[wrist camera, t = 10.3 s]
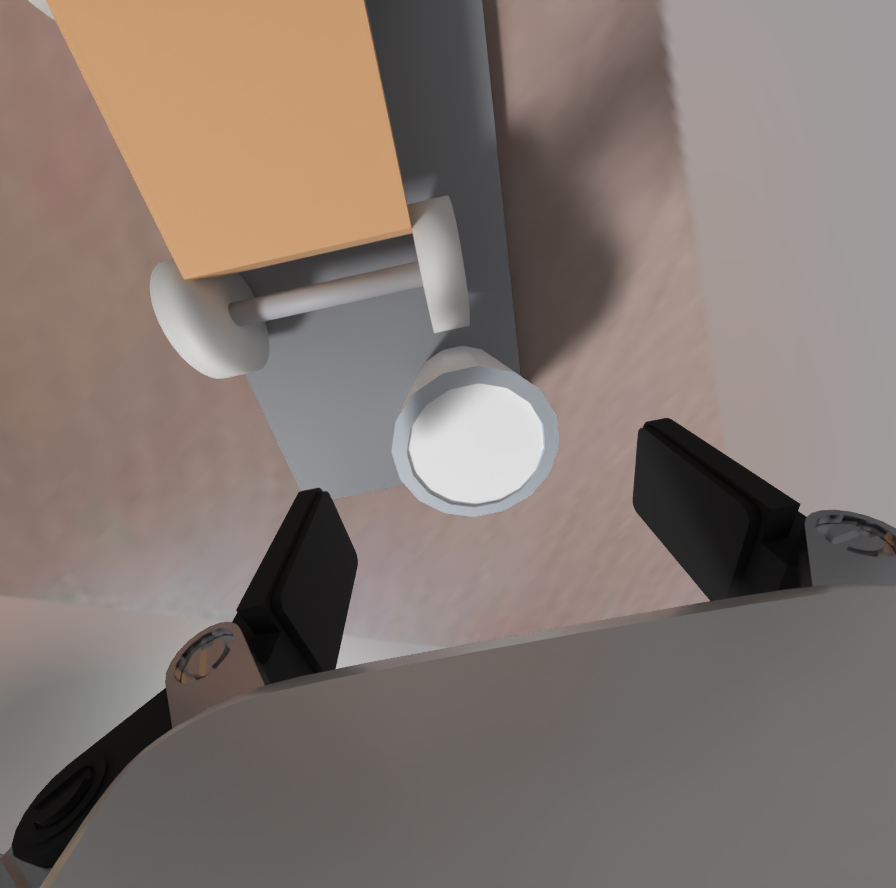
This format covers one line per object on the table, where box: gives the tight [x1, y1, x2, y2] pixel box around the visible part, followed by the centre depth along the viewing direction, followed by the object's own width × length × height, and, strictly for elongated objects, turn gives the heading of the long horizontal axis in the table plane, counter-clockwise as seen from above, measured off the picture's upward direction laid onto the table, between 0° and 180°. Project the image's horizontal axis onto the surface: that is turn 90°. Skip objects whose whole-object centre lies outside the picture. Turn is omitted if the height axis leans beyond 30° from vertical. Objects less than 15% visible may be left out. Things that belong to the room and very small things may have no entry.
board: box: [239, 0, 521, 499], centre depth 17 cm, size 28×15×1 cm, turn 11°
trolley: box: [28, 0, 470, 379], centre depth 10 cm, size 17×12×11 cm
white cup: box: [391, 346, 559, 517], centre depth 17 cm, size 7×7×7 cm
